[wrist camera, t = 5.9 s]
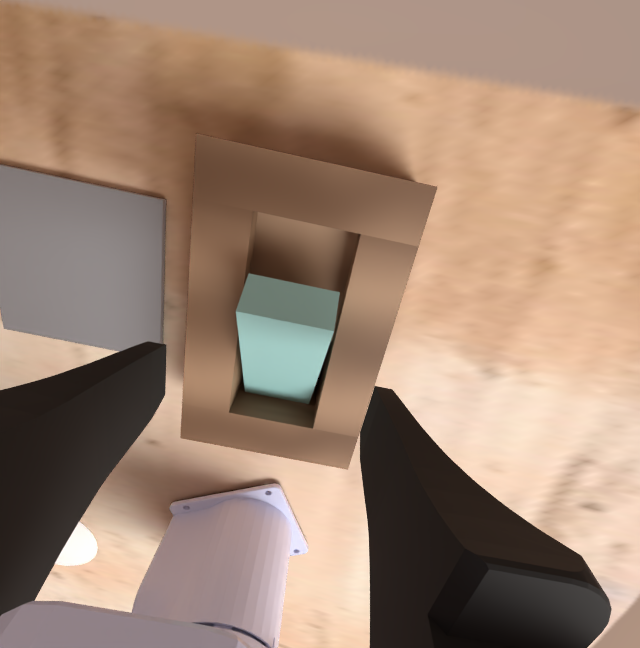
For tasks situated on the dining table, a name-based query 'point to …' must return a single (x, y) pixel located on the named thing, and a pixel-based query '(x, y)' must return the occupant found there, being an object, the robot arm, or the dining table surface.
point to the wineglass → (78, 547)
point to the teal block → (284, 336)
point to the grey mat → (80, 260)
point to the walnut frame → (298, 267)
